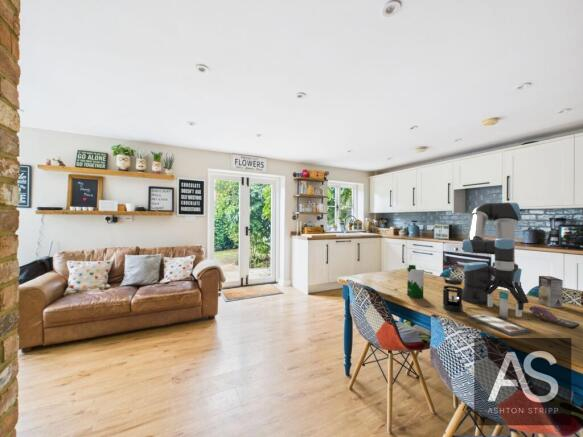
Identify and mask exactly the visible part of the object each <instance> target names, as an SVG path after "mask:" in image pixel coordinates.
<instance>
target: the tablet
mask: <svg viewBox="0 0 583 437" xmlns="http://www.w3.org/2000/svg"><path fill="white" fill-rule="evenodd" d="M466 318H468V319H470V320H472V321H475V322H477V323H479V324H481V325H484V326H486V327H489V328H491V329H493V330H496V331H498V332H501V333H502V334H505V335H508V336H516V335H517V336H518V335H524V334H525V335H526V334H531V333H532V330H530V329H528V328H525V327H522V326H520V325H517V324H515V323H511V322H508V321H507V320H504V319H501V318H500V317H495V316H493V315H491V314H487V313H481V314H479V313H478V314H471V315H467V316H466Z"/></svg>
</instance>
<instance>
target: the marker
mask: <svg viewBox="0 0 583 437" xmlns="http://www.w3.org/2000/svg"><path fill="white" fill-rule="evenodd" d="M498 294H499V319H502V320H504V321H507V320H508V317H509V293H508V292H505V291H499V293H498Z"/></svg>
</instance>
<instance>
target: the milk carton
mask: <svg viewBox="0 0 583 437" xmlns="http://www.w3.org/2000/svg"><path fill="white" fill-rule="evenodd" d="M406 272H407V279H406V280H407V282H406V284H407V295H408V296H409V297H411V298H414V299H419V298H420V299H424V277H425V276H424V275H425V274H424V273H425V269H423V268H421V267H416V264H409V265H408V267H406Z"/></svg>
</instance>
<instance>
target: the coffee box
mask: <svg viewBox="0 0 583 437" xmlns="http://www.w3.org/2000/svg"><path fill="white" fill-rule="evenodd" d="M563 282H564V281H563V279H561V278H558V277H555V276H550V275H548V276H547V275H538V302H539V303H540V304H542V305H545V306H548V307H550V308H561V307H562V308H563V285H564V284H563Z"/></svg>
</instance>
